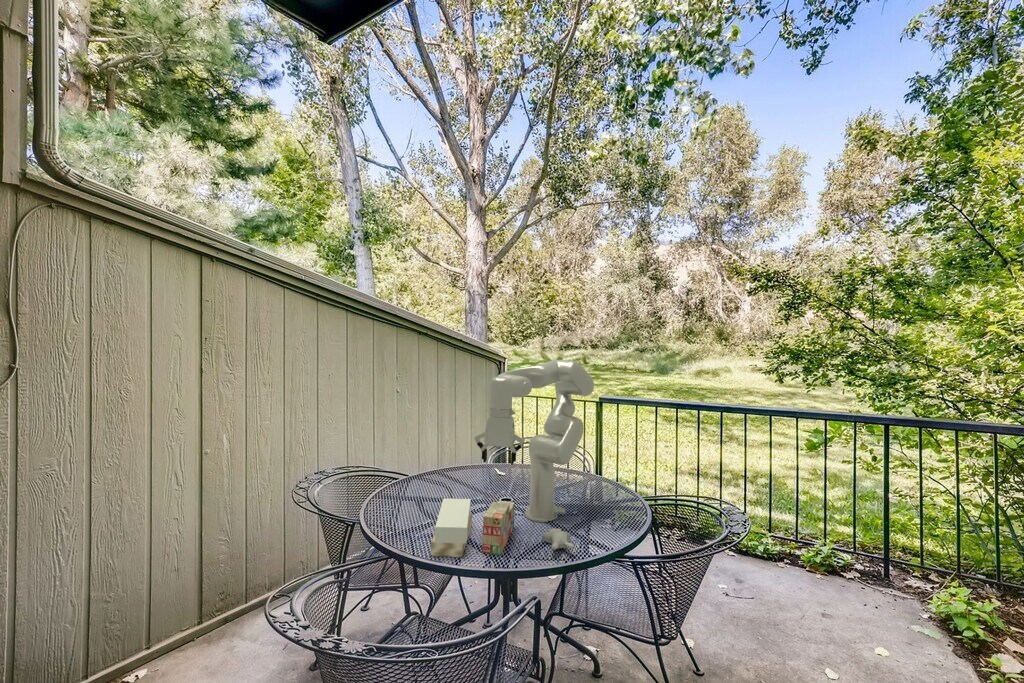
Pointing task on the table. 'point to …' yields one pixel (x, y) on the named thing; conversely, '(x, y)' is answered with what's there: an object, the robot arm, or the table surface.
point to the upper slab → (453, 521)
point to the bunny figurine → (558, 539)
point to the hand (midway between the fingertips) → (498, 462)
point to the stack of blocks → (497, 526)
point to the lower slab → (449, 546)
